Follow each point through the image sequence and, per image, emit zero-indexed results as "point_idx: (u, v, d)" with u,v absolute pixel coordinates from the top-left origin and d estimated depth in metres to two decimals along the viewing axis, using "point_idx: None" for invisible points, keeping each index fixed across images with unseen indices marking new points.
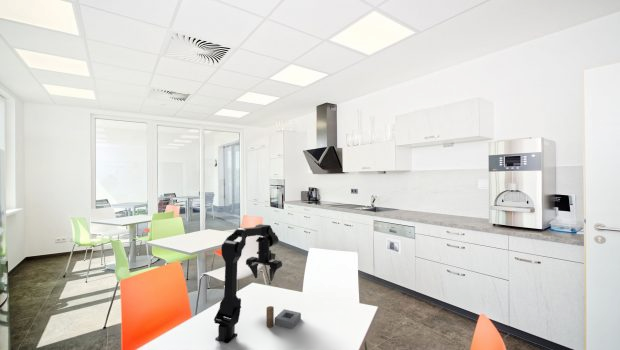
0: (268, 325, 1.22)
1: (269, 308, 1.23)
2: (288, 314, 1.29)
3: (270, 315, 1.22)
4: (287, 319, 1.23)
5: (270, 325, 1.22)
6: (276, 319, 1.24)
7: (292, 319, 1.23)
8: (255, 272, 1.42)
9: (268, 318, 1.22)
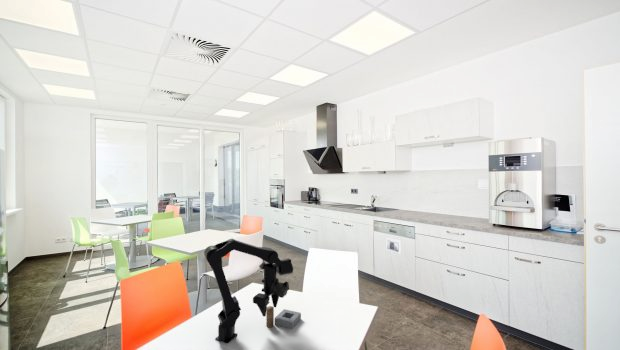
0: (268, 325, 1.22)
1: (269, 308, 1.23)
2: (288, 314, 1.29)
3: (270, 315, 1.22)
4: (287, 319, 1.23)
5: (270, 325, 1.22)
6: (276, 319, 1.24)
7: (292, 319, 1.23)
8: (273, 300, 1.28)
9: (268, 318, 1.22)
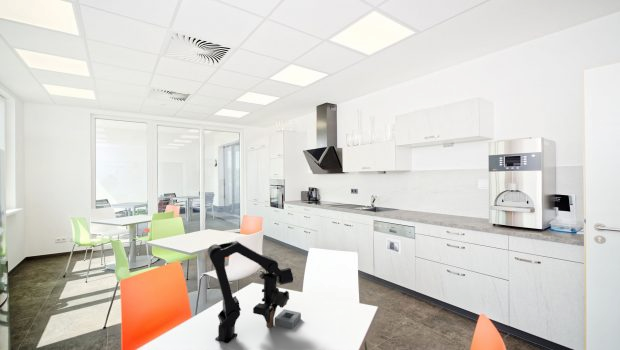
0: (268, 325, 1.22)
1: None
2: (288, 314, 1.29)
3: (270, 315, 1.22)
4: (287, 319, 1.23)
5: (270, 325, 1.22)
6: (276, 319, 1.24)
7: (292, 319, 1.23)
8: None
9: None
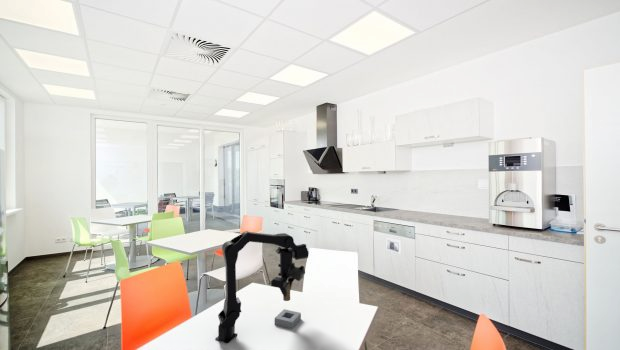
0: (285, 299, 1.25)
1: None
2: (288, 314, 1.29)
3: (287, 289, 1.25)
4: (287, 319, 1.23)
5: (287, 299, 1.25)
6: (276, 319, 1.24)
7: (292, 319, 1.23)
8: None
9: None
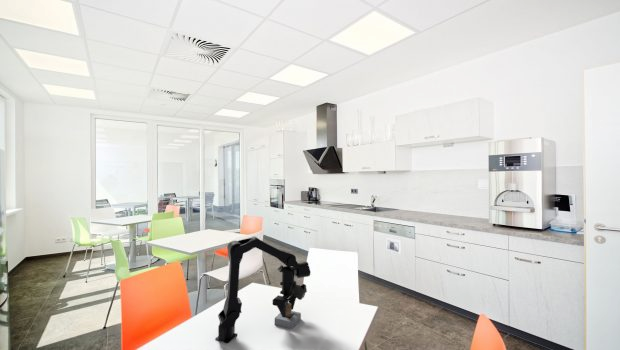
0: None
1: None
2: None
3: (288, 312, 1.25)
4: (287, 319, 1.23)
5: None
6: (276, 319, 1.24)
7: (292, 319, 1.23)
8: (290, 302, 1.31)
9: (286, 314, 1.25)
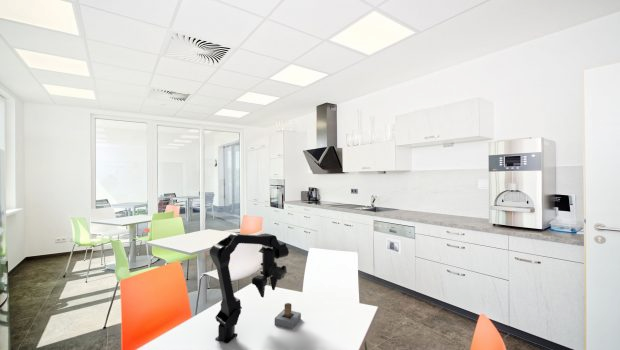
0: None
1: (287, 305, 1.26)
2: None
3: (288, 312, 1.25)
4: (287, 319, 1.23)
5: None
6: (276, 319, 1.24)
7: (292, 319, 1.23)
8: (272, 283, 1.35)
9: (286, 314, 1.25)
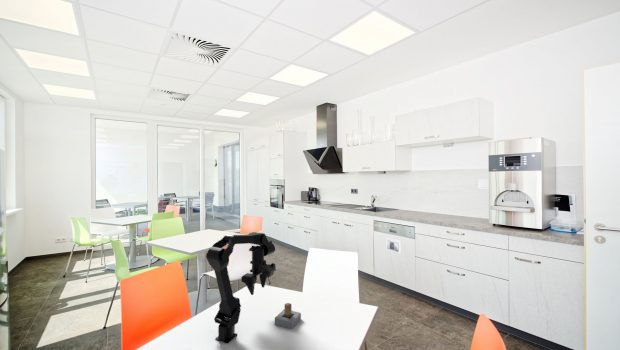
0: None
1: (287, 305, 1.26)
2: None
3: (288, 312, 1.25)
4: (287, 319, 1.23)
5: None
6: (276, 319, 1.24)
7: (292, 319, 1.23)
8: (262, 280, 1.37)
9: (286, 314, 1.25)
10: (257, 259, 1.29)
